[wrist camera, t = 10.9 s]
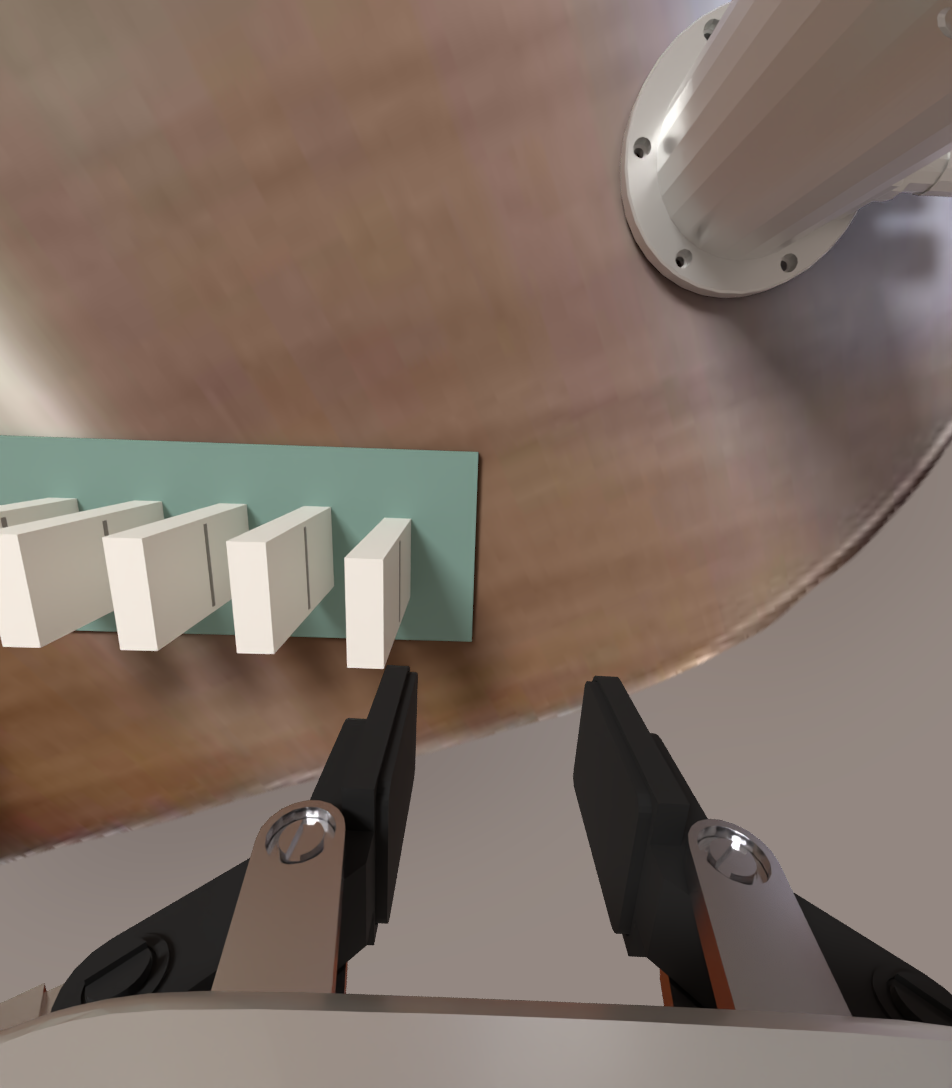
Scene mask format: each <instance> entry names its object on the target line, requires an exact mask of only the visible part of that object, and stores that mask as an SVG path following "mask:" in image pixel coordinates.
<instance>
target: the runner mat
mask: <svg viewBox="0 0 952 1088" xmlns="http://www.w3.org/2000/svg"><path fill="white" fill-rule="evenodd" d="M477 476H478V452H462V451H433V450H405V449H376V448H348V447H319V446H291V445H262V444H234V443H205V442H177V441H148V440H120V439H91V438H63V437H34V436H6V435H0V505H6V504H12V503H19V502H25V501H31V500H37V499H44V498H77V503H78V509H79V512H82V511H86V510H91V509H96V508H101V507H105V506H110V505H115V504H120V503H125V502H129V501H134V500H138V501H162V506H163V513H164V519H167V518H170V517H174V516H177V515H181V514H184V513H188V512H191V511H194V510H198V509H201V508H205V507H208V506H212V505H215V504H219V503H229V504H247V514H248V526H249V531H250V530H252V529H254V528H256V527H259V526H261V525H263V524H265V523H267V522H270V521H272V520H274V519H276V518H279V517H281V516H283V515H285V514H287V513H290V512H292V511H294V510H296V509H298V508H301V507H303V506H320V507H331V522H332V546H333V571H334V587H333V588H332V589H331V590H330V591H329V593H328V594H327V595H326V596H325V597H324V598H323V599H322V600H321V602H320V603H319V604H318V605H317V606H316V607H315V608H314V610H313V611H312V612H311V613H310V614H309V615H308V616H307V617H306V619H305V620H304V621H303V622H302V623H301V624H300V625H299V627H298V628H297V629H296V630H295V631H294V632H293V633H292V634H291V637H326V638H346V604H345V566H344V558H345V557H346V556H347V555H348V554H349V553H350V552H351V551H352V550H353V549H354V548H355V547H356V546H357V545H358V544H359V543H360V542H361V541H362V540H363V539H364V538H365V537H366V536H367V535H368V534H369V533H370V532H371V531H372V530H373V529H374V528H375V527H376V526H377V525H378V524H379V523H380V522H381V521H382V520H383V519H384V518H406V519H411V579H410V599H409V602H408V605H407V607H406V610H405V613H404V615H403V618H402V621H401V623H400V626H399V629H398V632H397V634H396V637H395V639H396V640H432V641H467V642H472V617H473V589H474V561H475V532H476V504H477ZM77 630H79V631H114V632H117V626H116V620H115V614H114V611H112V612H110V613H108V614H106V615H104V616H102V617H100V618H99V619H97V620H95V621H93V622H91V623H89V624H87V625H85V626H83V627H81V628H79V629H77ZM184 633H185V634H220V635H235V628H234V618H233V607H232V599H231V600H230V601H228V602H227V603H225V604H224V605H222V606H221V607H220V608H218V609H217V610H215V611H214V612H212V613H211V614H210V615H208V616H207V617H205V618H204V619H203V620H201V621H200V622H198V623H197V624H195V625H194V626H193V627H191V628H190V629H188V630H187V631H185V632H184Z"/></svg>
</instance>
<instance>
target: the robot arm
mask: <svg viewBox="0 0 952 1088" xmlns="http://www.w3.org/2000/svg"><path fill="white" fill-rule="evenodd" d="M634 153H637V154H639V155H640V158H639V157H637V156H636V155H635V154H634ZM620 190H621V196H622V201H623V206H624V211H625V216H626V219H627V221H628V224H629V226H630V229H631V231H632V234H633V236H634V239H635V241H636V242H637V244H638V245H639V247H640V248H641V250H642V252H643V253H644V255H645V256H646V258H647V259H648V260H649V261H650V262H651V263H652V264H653V265H654V266H655V267H656V269H657V270H658V271H659V272H660V273H661V274H662V275H663V276H665V277H667V278H668V279H670V280H671V281H673V282H674V283H676V284H677V285H679V286H680V287H682V288H685V289H687V290H690V291H692V292H695V293H698V294H700V295H705V296H712V297H719V298H732V297H745V296H749V295H753V294H756V293H760V292H764V291H767V290H769V289H771V288H773V287H776V286H778V285H780V284H783V283H785V282H787V281H789V280H790V279H792V278H794V277H795V276H797V275H799V274H800V273H802V272H804V271H805V270H807V269H809V268H810V267H811V266H812V265H813V264H815V263H816V262H817V261H818V260H819V259H820V258H822V257H823V256H824V255H825V254H826V253H827V252H829V250H830V249H831V248H832V247H833V246H834V244H835V243H836V242H837V241H838V240H839V239H840V237H841V236H842V235H843V234H844V233H845V231H846V230H847V228H848V227H849V225H850V223H851V222H852V220H853V219H854V217H855V215H856V214H857V212H858V210H859V209H860V208H862V207H864V206H866V205H867V204H869V203H871V202H885V201H888V200H892V199H893V198H894V197H896V196H897V195H898V194H900V193H912V194H913V195H919V196H940V197H952V0H732V1H731V2H728V3H725V4H723V5H721V6H719V7H717V8H716V9H714V10H712V11H710V12H708V13H707V14H705V15H703V16H701V17H699V18H698V19H697V20H696V21H695V22H694V23H692V24H691V25H690V26H689V27H688V28H686V29H685V30H684V31H683V32H682V33H680V34H679V35H678V36H677V37H676V38H675V39H674V41H673V42H672V43H671V44H670V45H669V47H668V48H667V49H666V50H665V51H664V53H663V54H662V55H661V56H660V57H659V59H658V60H657V62H656V64H655V65H654V67H653V69H652V70H651V72H650V74H649V76H648V77H647V79H646V81H645V82H644V84H643V86H642V88H641V90H640V93H639V95H638V97H637V99H636V101H635V103H634V105H633V108H632V110H631V113H630V117H629V120H628V123H627V127H626V130H625V133H624V137H623V144H622V151H621V159H620ZM676 260H679V261H680V264H681V266H680V267H678V265H677V264H676ZM781 267H782V268H781ZM417 683H418V674H417V673H416V672H410V667H409V666H395V665H387V666H386V669H385V671H384V674H383V677H382V679H381V682H380V685H379V688H378V690H377V693H376V696H375V698H374V701H373V704H372V706H371V709H370V712H369V715H368V717H367V719H355V718H348V719H346V720H345V722H344V724H343V726H342V729H341V731H340V733H339V735H338V738H337V740H336V742H335V744H334V747H333V749H332V751H331V753H330V756H329V758H328V760H327V763H326V765H325V767H324V769H323V772H322V774H321V776H320V778H319V781H318V783H317V785H316V787H315V790H314V792H313V794H312V797H311V799H310V800H307V801H302V802H298V803H294V804H291V805H289V806H287V807H285V808H282V809H281V810H279V811H278V812H277V813H275V814H274V815H273V816H271V817H270V818H269V819H268V820H267V822H266V823H265V824H264V825H263V826H262V827H261V829H260V831H259V833H258V835H257V837H256V840H255V843H254V847H253V850H252V853H251V857H250V858H249V859H247V860H246V861H244V862H242V863H241V864H239V865H237V866H235V867H234V868H232V869H230V870H229V871H227V872H225V873H223V874H222V875H220V876H218V877H216V878H215V879H213V880H212V881H210V882H208V883H206V884H205V885H203V886H201V887H200V888H198V889H196V890H194V891H193V892H191V893H189V894H188V895H186V896H184V897H182V898H181V899H179V900H178V901H175V902H174V903H172V904H170V905H169V906H167V907H165V908H164V909H162V910H160V911H158V912H157V913H155V914H153V915H152V916H150V917H148V918H146V919H145V920H143V921H141V922H140V923H138V924H136V925H135V926H133V927H131V928H129V929H128V930H126V931H124V932H122V933H121V934H119V935H117V936H116V937H114V938H112V939H111V940H109V941H108V942H107V943H105V944H104V945H102V946H101V947H99V948H98V949H96V950H95V951H94V952H92V953H91V954H90V955H89V956H88V957H87V958H86V959H85V960H84V961H83V962H82V963H81V964H80V965H79V966H78V967H77V968H76V969H75V970H74V971H73V973H72V974H71V975H70V977H69V978H68V979H67V981H66V982H65V983H64V984H62V985H60V986H58V987H56V988H53V989H51V990H49V991H47V990H46V986H45V983H43V984H41V985H39V986H37V987H35V988H32V989H30V990H28V991H26V992H24V993H21V994H19V995H17V996H15V997H13V998H11V999H8V1000H6V1001H4V1002H2V1003H0V1088H952V995H951V994H950V993H949V992H948V991H947V990H946V989H945V988H943V987H942V986H941V985H939V984H938V983H936V982H935V981H934V980H932V979H931V978H929V977H928V976H927V975H925V974H923V973H922V972H921V971H919V970H917V969H916V968H914V967H912V966H911V965H909V964H908V963H906V962H904V961H903V960H901V959H900V958H898V957H896V956H895V955H893V954H891V953H890V952H888V951H887V950H885V949H884V948H882V947H880V946H879V945H877V944H876V943H874V942H872V941H871V940H869V939H867V938H866V937H864V936H862V935H861V934H859V933H858V932H856V931H854V930H853V929H851V928H850V927H848V926H847V925H845V924H843V923H842V922H840V921H839V920H837V919H835V918H834V917H832V916H830V915H829V914H827V913H826V912H824V911H822V910H821V909H819V908H817V907H816V906H814V905H813V904H811V903H810V902H808V901H806V900H805V899H803V898H801V897H800V896H798V895H797V894H795V893H793V891H792V889H791V887H790V885H789V883H788V881H787V879H786V877H785V874H784V872H783V870H782V868H781V866H780V864H779V862H778V861H777V859H776V857H775V856H774V854H773V853H772V851H771V850H770V849H769V848H768V847H767V846H766V845H765V844H764V843H763V842H762V841H761V840H760V839H758V838H757V837H755V836H754V835H753V834H751V833H750V832H749V831H747V830H745V829H743V828H741V827H739V826H737V825H735V824H732V823H729V822H726V821H723V820H716V819H708V818H707V817H706V815H705V813H704V812H703V810H702V808H701V807H700V805H699V803H698V801H697V800H696V798H695V796H694V795H693V793H692V791H691V789H690V788H689V786H688V784H687V783H686V781H685V779H684V777H683V776H682V774H681V772H680V771H679V769H678V767H677V766H676V764H675V762H674V761H673V759H672V757H671V755H670V754H669V752H668V750H667V748H666V747H665V745H664V743H663V742H662V740H661V739H660V738H659V736H658V735H657V734H653V733H650V732H649V731H648V729H647V727H646V725H645V724H644V722H643V720H642V718H641V717H640V715H639V713H638V711H637V709H636V708H635V706H634V704H633V702H632V700H631V699H630V697H629V695H628V693H627V691H626V690H625V688H624V686H623V684H622V682H621V681H620V679H619V678H618V677H608V676H595V677H594V678H593V681H592V682H590V681H587V682H586V684H585V689H584V696H583V704H582V711H581V719H580V727H579V734H578V742H577V749H576V757H575V765H574V773H573V780H574V788H575V792H576V796H577V800H578V803H579V807H580V811H581V815H582V818H583V822H584V825H585V830H586V833H587V837H588V841H589V844H590V848H591V852H592V856H593V859H594V863H595V867H596V870H597V874H598V878H599V882H600V885H601V889H602V893H603V896H604V900H605V904H606V907H607V911H608V915H609V918H610V922H611V926H612V929H613V931H614V932H615V933H616V934H622V935H623V938H624V941H625V945H626V949H627V952H628V956H635V957H636V956H637V957H647V958H648V959H649V960H651V961H652V962H653V963H654V964H655V965H656V966H657V967H659V968H660V983H661V990H662V997H663V1003H664V1006H645V1005H620V1004H597V1003H574V1002H551V1001H550V1002H549V1001H526V1000H501V999H477V998H450V997H422V996H421V997H420V996H393V995H365V994H346V987H347V970H348V961H349V960H350V959H351V958H352V957H353V956H355V955H356V954H357V953H358V952H359V951H360V950H362V949H363V948H364V947H365V946H366V945H374V942H375V937H376V932H377V927H378V923H388V922H389V918H390V913H391V907H392V901H393V895H394V890H395V884H396V878H397V873H398V867H399V861H400V856H401V850H402V843H403V838H404V833H405V827H406V821H407V815H408V810H409V804H410V798H411V792H412V787H413V781H414V772H415V753H416V718H417Z"/></svg>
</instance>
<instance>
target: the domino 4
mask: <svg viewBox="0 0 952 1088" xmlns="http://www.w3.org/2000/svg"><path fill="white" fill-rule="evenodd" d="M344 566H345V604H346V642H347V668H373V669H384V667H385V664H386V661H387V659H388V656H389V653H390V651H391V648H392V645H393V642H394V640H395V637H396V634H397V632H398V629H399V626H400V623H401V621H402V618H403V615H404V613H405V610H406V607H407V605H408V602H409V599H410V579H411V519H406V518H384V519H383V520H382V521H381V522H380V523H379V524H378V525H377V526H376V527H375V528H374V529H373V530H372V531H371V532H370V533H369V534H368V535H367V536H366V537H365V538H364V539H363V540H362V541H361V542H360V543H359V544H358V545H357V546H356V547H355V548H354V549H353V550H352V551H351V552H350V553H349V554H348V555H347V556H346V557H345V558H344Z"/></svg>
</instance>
